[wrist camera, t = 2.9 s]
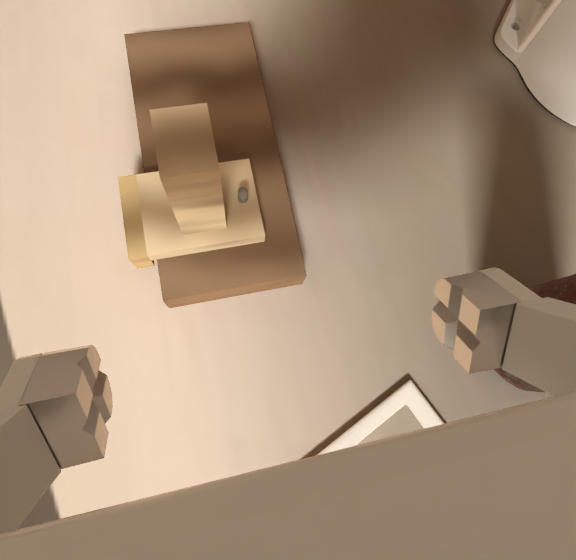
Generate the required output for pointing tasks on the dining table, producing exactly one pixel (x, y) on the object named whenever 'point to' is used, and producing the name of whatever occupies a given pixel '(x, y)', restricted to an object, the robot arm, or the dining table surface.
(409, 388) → the dessert
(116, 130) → the dining table surface
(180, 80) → the board
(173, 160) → the stacked wooden blocks
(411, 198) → the dining table surface
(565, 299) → the candle
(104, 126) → the dining table surface
